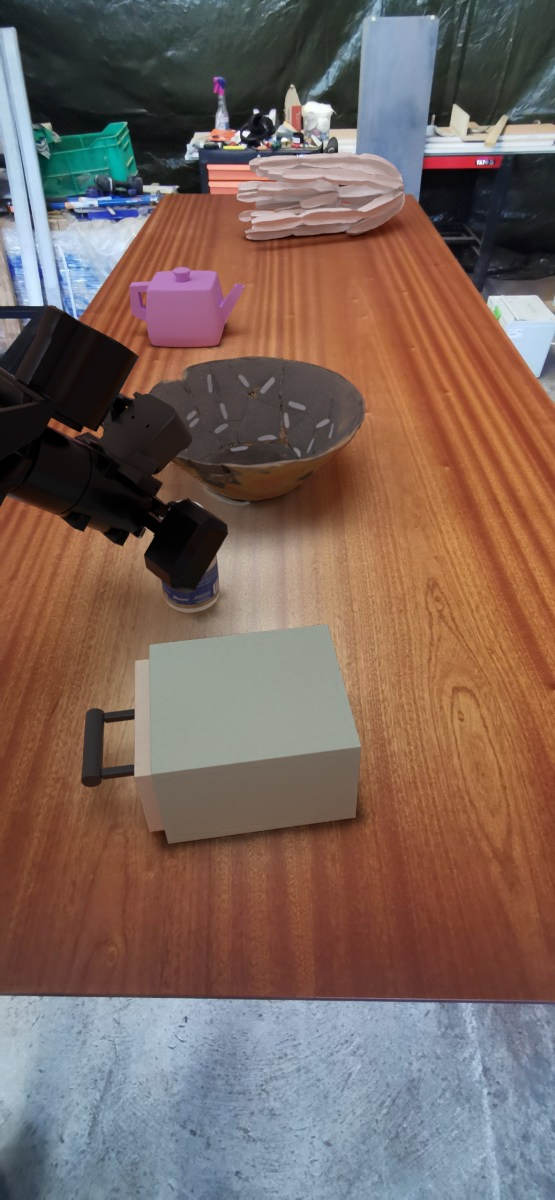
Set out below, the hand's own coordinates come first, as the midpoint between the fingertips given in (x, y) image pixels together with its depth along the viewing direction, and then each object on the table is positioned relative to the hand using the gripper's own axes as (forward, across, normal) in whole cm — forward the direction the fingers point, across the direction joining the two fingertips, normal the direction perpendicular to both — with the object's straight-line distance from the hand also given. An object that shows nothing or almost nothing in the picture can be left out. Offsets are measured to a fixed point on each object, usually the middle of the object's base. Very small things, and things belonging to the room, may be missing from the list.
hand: (197, 535), depth 67 cm
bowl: (+17, +12, -7) cm, 22 cm away
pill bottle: (+4, 0, +6) cm, 7 cm away
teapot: (+31, +51, -21) cm, 64 cm away
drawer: (-4, -16, +13) cm, 21 cm away
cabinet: (-1, -18, +12) cm, 22 cm away
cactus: (+67, +73, -58) cm, 115 cm away
